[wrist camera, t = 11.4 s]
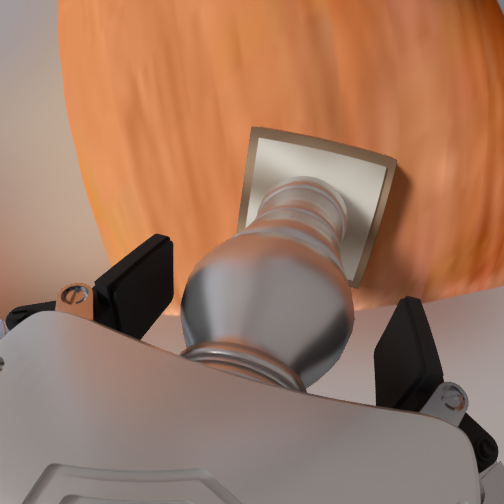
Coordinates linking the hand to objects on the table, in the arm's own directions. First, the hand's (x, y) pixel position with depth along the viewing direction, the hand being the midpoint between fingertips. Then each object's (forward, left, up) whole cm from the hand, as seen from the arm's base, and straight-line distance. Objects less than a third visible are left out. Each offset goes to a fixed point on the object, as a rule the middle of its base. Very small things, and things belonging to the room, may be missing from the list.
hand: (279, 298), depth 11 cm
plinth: (+1, 0, -17) cm, 17 cm away
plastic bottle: (+1, 0, -14) cm, 14 cm away
